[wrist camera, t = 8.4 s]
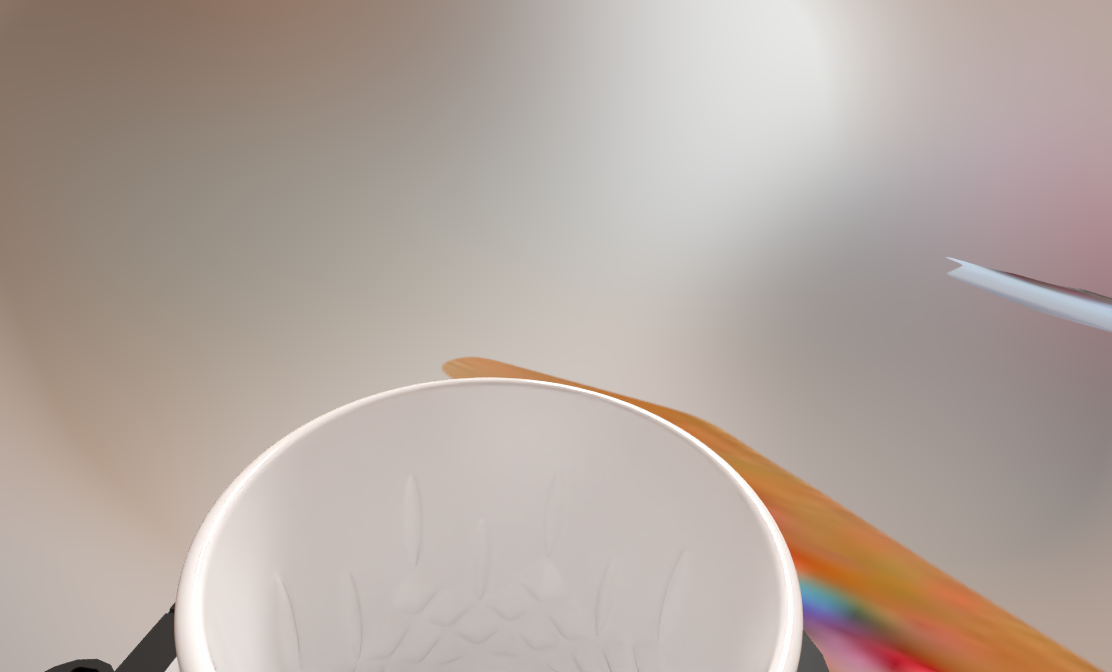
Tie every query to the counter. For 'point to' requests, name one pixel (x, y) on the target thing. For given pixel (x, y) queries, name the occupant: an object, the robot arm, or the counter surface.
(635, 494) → the white cup
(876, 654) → the counter surface
